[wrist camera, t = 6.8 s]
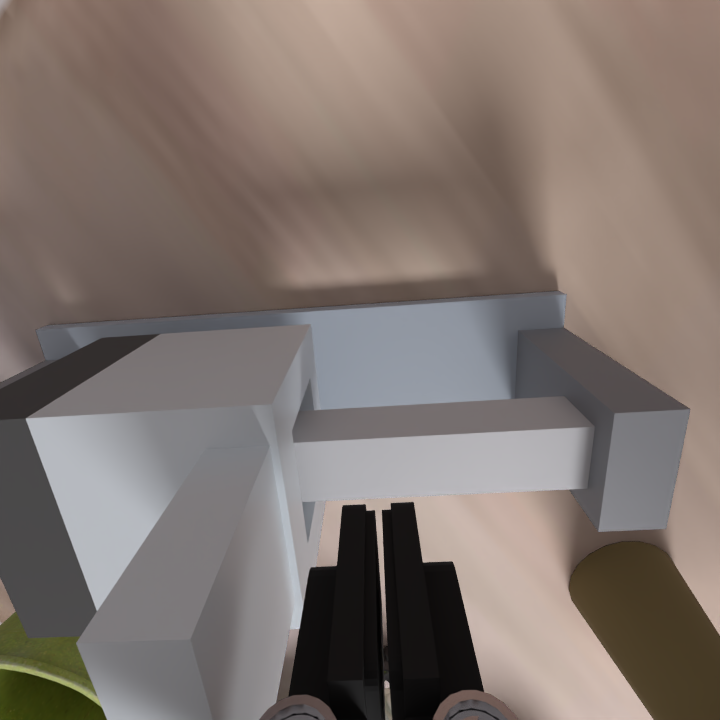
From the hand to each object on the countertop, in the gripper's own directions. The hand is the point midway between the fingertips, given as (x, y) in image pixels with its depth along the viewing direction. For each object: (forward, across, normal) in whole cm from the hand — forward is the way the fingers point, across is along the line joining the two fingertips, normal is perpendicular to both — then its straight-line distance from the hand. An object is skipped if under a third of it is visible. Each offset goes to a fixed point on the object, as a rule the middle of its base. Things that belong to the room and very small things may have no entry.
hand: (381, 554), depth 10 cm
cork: (+12, -14, +14) cm, 23 cm away
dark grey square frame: (+8, +10, 0) cm, 13 cm away
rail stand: (+12, +4, 0) cm, 12 cm away
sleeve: (+8, +5, 0) cm, 10 cm away
